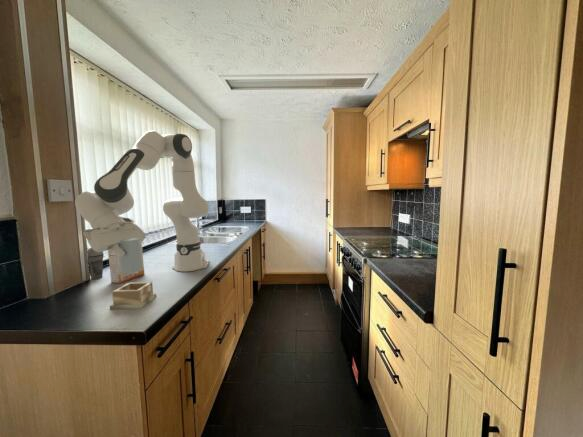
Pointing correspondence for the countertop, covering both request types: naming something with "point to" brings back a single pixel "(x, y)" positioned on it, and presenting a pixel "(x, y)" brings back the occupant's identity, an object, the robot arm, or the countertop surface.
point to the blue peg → (131, 255)
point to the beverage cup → (95, 263)
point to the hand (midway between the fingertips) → (131, 253)
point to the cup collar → (132, 295)
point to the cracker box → (116, 269)
